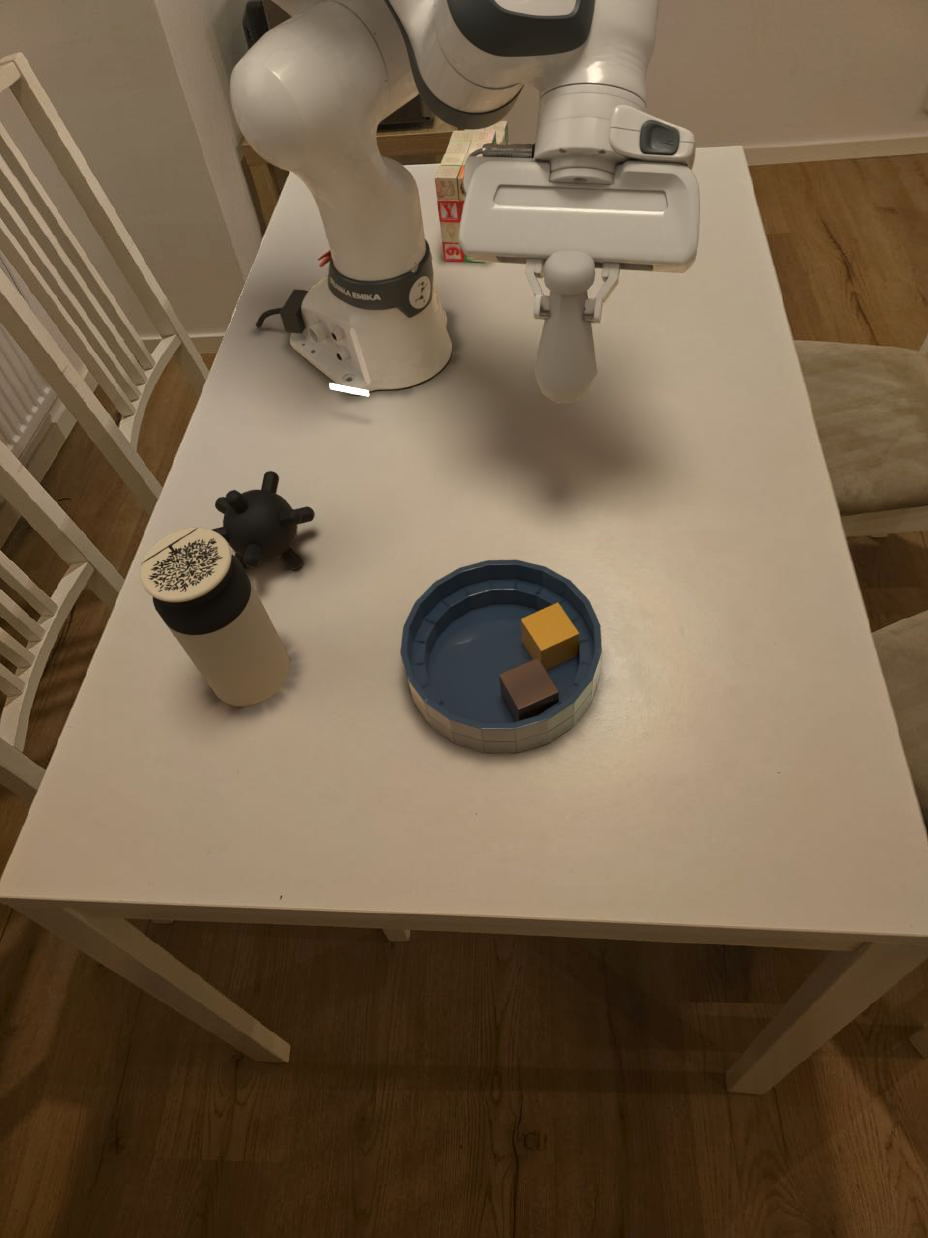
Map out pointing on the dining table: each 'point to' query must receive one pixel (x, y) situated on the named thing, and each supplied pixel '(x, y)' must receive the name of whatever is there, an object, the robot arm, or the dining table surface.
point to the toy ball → (261, 524)
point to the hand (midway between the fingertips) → (567, 320)
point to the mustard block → (550, 636)
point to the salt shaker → (567, 329)
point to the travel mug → (216, 615)
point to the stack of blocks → (460, 182)
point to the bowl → (494, 654)
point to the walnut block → (528, 690)
